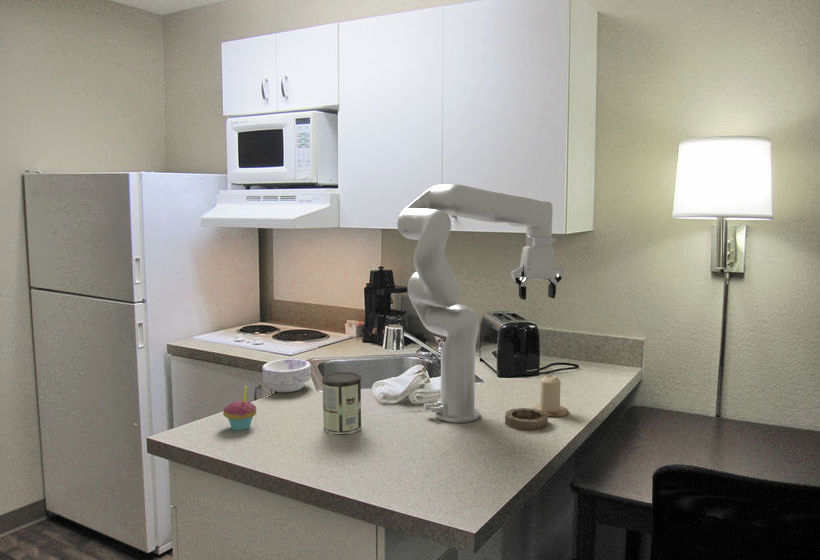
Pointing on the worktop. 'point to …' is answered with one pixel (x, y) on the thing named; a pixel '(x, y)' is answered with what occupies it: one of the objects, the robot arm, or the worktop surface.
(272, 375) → the paper bowls
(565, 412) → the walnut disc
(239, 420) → the cupcake
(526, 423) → the ring
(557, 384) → the candle
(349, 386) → the coffee can
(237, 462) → the worktop surface
